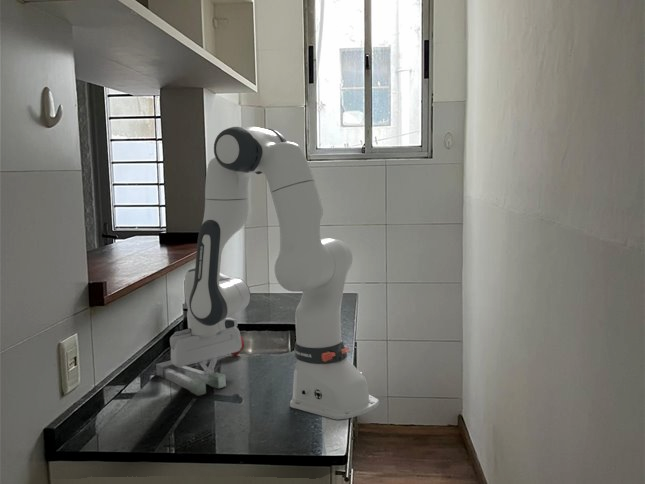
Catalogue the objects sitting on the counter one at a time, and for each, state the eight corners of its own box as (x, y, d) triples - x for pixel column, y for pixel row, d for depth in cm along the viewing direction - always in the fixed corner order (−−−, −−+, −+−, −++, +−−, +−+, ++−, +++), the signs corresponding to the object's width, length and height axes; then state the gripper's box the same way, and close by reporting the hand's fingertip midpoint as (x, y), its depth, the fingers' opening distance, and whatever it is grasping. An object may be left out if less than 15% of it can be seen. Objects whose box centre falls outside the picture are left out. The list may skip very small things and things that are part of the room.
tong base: (218, 389, 169) (218, 377, 169) (197, 395, 165) (196, 383, 165) (176, 369, 187) (175, 359, 187) (156, 374, 183) (156, 364, 183)
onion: (241, 359, 195) (239, 333, 194) (223, 358, 196) (221, 332, 195) (247, 353, 200) (245, 328, 199) (229, 352, 202) (228, 327, 201)
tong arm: (171, 373, 184) (170, 359, 183) (178, 371, 185) (177, 356, 185) (218, 388, 169) (217, 373, 169) (226, 386, 171) (225, 370, 171)
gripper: (174, 335, 166) (179, 387, 168) (242, 319, 179) (246, 367, 181) (163, 331, 171) (169, 382, 173) (230, 316, 184) (234, 363, 186)
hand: (209, 374), depth 177 cm, fingers closed
